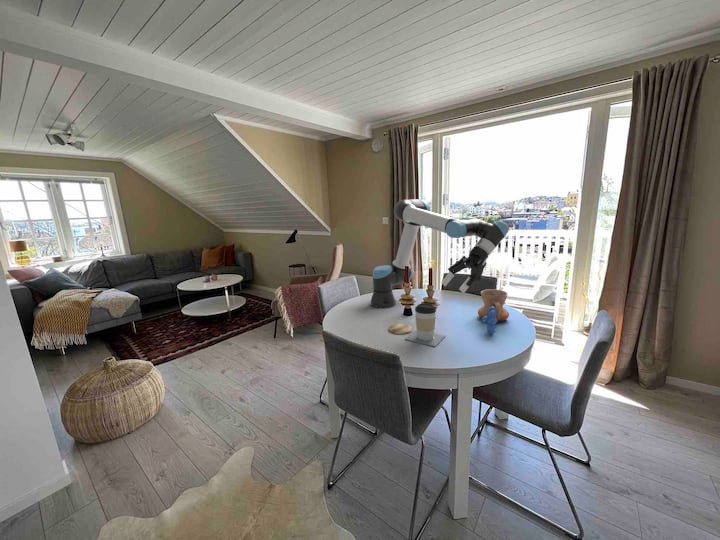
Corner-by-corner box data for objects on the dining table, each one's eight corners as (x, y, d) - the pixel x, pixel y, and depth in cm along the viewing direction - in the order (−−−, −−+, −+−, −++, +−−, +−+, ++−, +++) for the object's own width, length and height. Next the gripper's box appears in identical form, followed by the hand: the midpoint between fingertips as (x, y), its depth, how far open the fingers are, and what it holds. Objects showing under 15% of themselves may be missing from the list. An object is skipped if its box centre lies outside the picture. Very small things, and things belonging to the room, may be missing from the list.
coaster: (384, 331, 139) (384, 329, 139) (395, 323, 148) (395, 322, 148) (405, 336, 133) (405, 334, 133) (415, 328, 142) (415, 326, 142)
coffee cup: (419, 331, 136) (419, 300, 133) (438, 335, 132) (438, 303, 129) (412, 339, 129) (411, 306, 126) (432, 343, 124) (432, 309, 121)
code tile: (404, 339, 129) (404, 338, 129) (416, 330, 139) (416, 329, 139) (435, 347, 121) (435, 346, 121) (445, 336, 131) (445, 335, 131)
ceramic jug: (475, 312, 160) (476, 287, 157) (504, 313, 156) (505, 287, 154) (480, 325, 143) (481, 297, 140) (513, 326, 139) (514, 298, 136)
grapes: (481, 326, 141) (482, 302, 138) (496, 328, 138) (498, 303, 136) (480, 336, 130) (482, 310, 128) (497, 338, 128) (499, 311, 125)
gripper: (507, 260, 120) (475, 299, 118) (468, 253, 143) (441, 286, 142) (497, 248, 117) (464, 288, 116) (459, 243, 141) (431, 276, 139)
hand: (451, 287), depth 129 cm, fingers open, 13 cm apart
